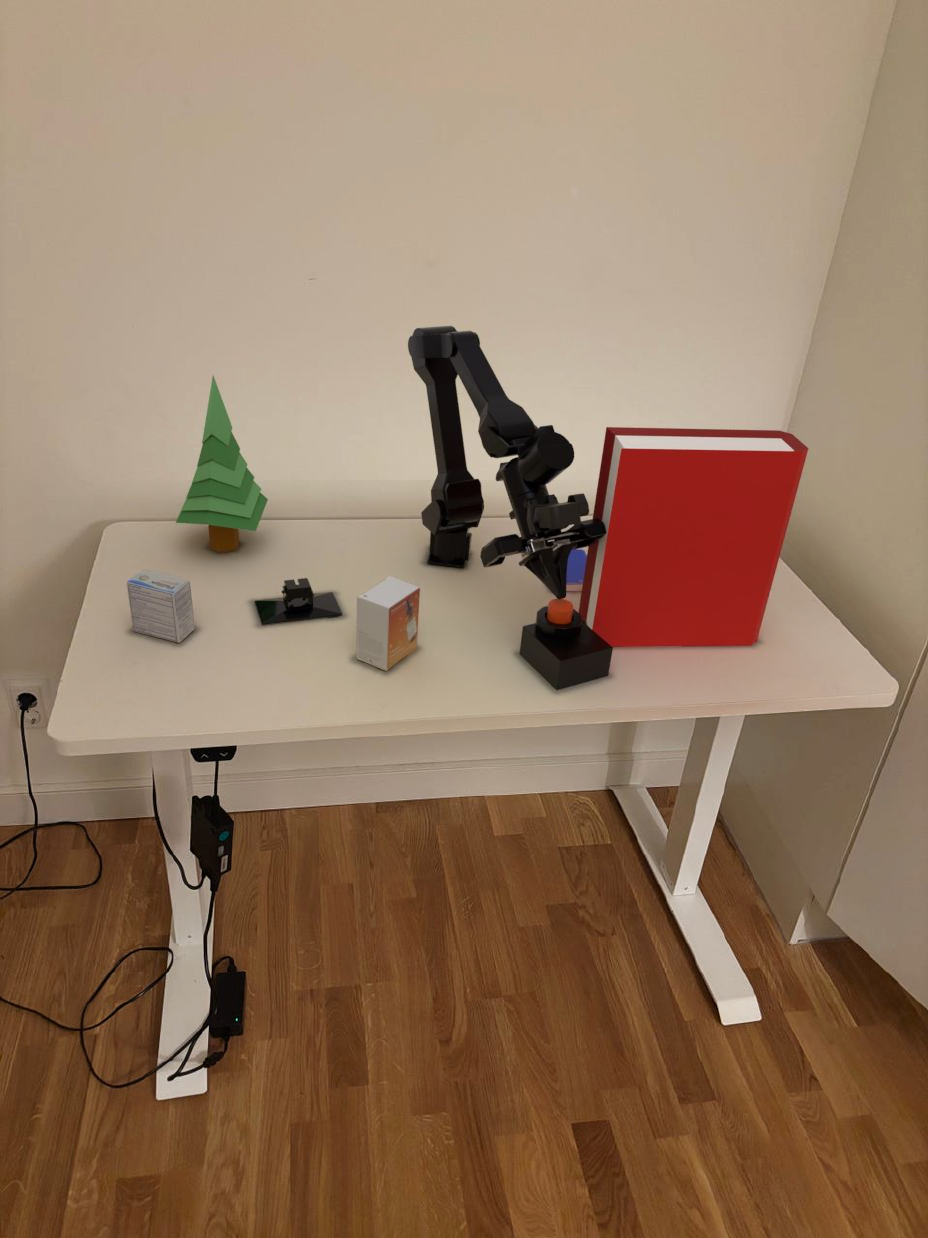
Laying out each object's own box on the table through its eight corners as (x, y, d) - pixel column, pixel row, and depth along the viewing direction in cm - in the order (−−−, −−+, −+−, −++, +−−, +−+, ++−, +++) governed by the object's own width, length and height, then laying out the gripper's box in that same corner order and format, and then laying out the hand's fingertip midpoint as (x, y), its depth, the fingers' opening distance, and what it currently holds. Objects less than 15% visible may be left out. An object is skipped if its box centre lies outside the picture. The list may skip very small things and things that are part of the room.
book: (589, 647, 146) (621, 448, 130) (577, 620, 153) (606, 427, 136) (759, 645, 150) (812, 451, 133) (740, 618, 157) (788, 430, 140)
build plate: (332, 594, 155) (332, 568, 152) (343, 617, 149) (343, 591, 147) (254, 602, 151) (253, 576, 148) (261, 626, 145) (261, 599, 143)
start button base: (516, 652, 144) (521, 611, 140) (566, 639, 148) (572, 599, 144) (556, 690, 136) (562, 649, 132) (608, 676, 140) (615, 635, 136)
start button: (542, 615, 140) (543, 601, 139) (562, 610, 142) (564, 596, 141) (555, 627, 138) (557, 613, 137) (576, 622, 139) (578, 608, 138)
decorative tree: (223, 520, 175) (212, 355, 159) (285, 547, 167) (280, 377, 152) (162, 545, 165) (144, 371, 149) (226, 575, 158) (214, 396, 142)
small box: (386, 672, 137) (388, 609, 131) (354, 659, 139) (355, 596, 134) (418, 648, 143) (421, 586, 137) (387, 635, 145) (389, 574, 140)
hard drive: (601, 583, 161) (584, 548, 171) (553, 583, 159) (539, 548, 170) (600, 591, 161) (583, 556, 172) (552, 591, 160) (538, 556, 171)
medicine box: (196, 630, 143) (191, 578, 139) (179, 644, 139) (173, 593, 135) (150, 618, 145) (144, 567, 140) (132, 632, 141) (125, 580, 137)
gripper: (497, 485, 129) (532, 594, 127) (609, 466, 138) (645, 569, 135) (465, 514, 139) (497, 617, 137) (571, 496, 147) (604, 592, 145)
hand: (562, 598), depth 138 cm, fingers closed
